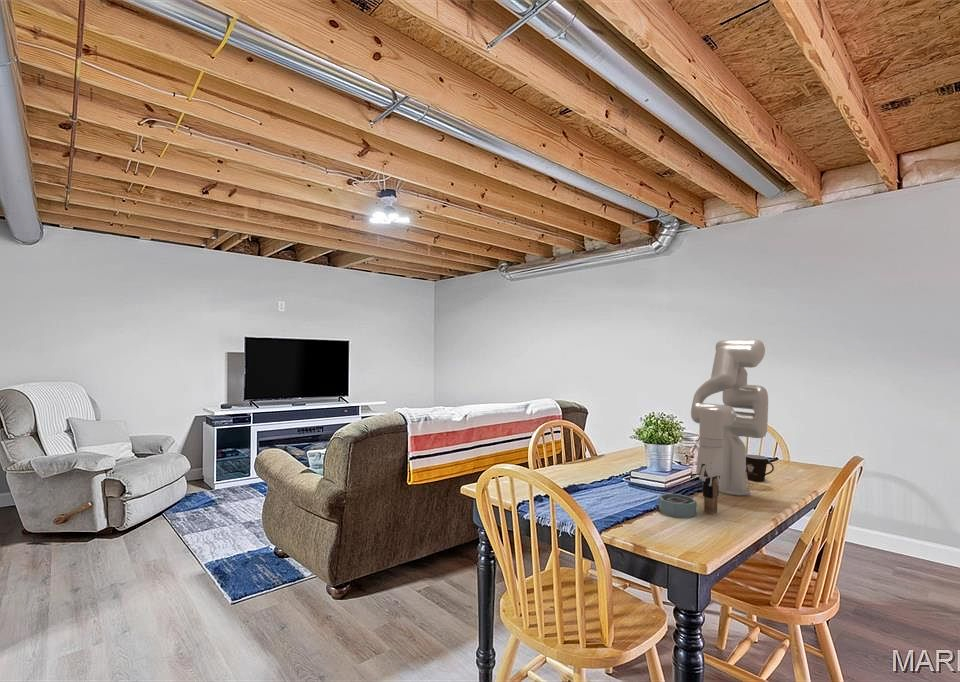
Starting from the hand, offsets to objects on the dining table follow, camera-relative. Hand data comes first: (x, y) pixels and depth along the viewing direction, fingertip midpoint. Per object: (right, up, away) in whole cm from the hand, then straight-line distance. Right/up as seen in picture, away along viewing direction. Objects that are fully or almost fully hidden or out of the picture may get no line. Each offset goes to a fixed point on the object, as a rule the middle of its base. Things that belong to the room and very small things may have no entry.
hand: (710, 495), depth 167 cm
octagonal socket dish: (-11, -5, 0) cm, 13 cm away
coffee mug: (+40, -7, +42) cm, 58 cm away
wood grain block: (0, -6, 0) cm, 6 cm away
